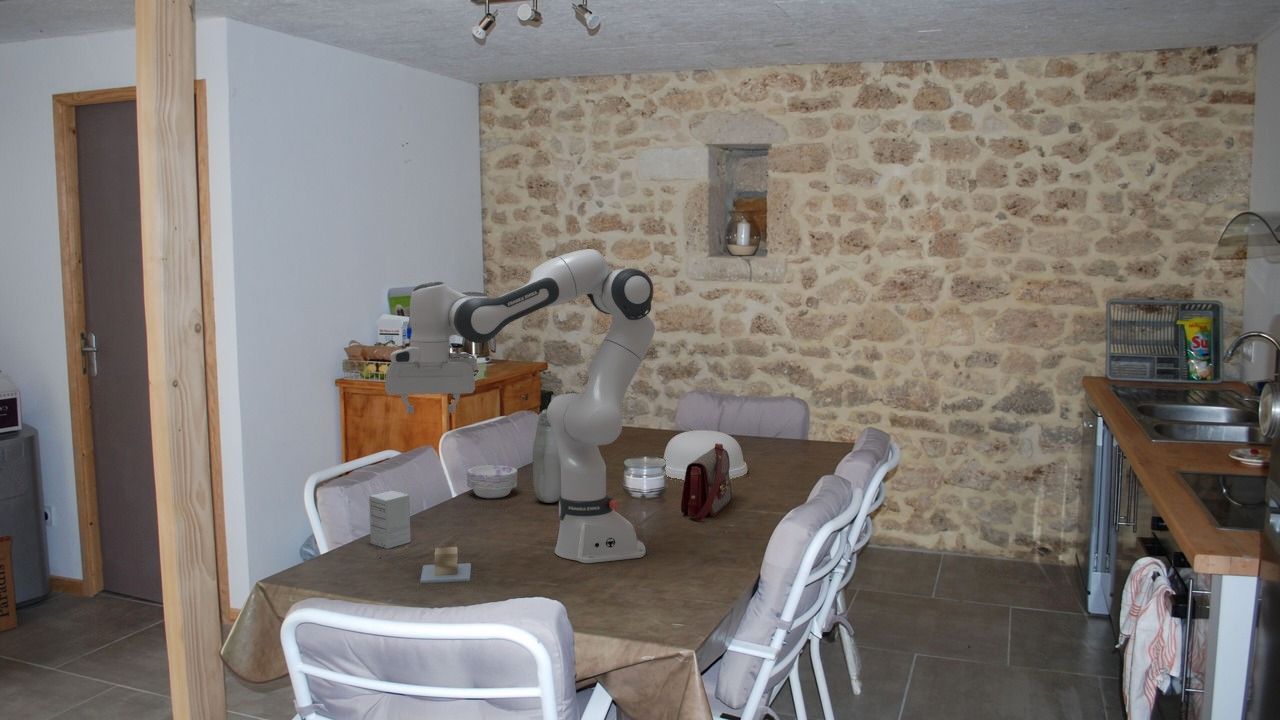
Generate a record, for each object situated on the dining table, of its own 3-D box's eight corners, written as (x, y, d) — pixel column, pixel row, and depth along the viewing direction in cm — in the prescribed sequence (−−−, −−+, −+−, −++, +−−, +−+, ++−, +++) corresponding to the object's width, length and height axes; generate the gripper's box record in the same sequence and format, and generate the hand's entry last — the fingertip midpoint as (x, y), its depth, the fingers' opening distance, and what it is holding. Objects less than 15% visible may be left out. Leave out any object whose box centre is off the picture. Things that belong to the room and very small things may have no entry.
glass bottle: (562, 507, 287) (562, 412, 284) (528, 505, 289) (528, 410, 286) (571, 498, 297) (571, 406, 294) (539, 496, 299) (538, 405, 296)
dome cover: (645, 466, 343) (646, 426, 342) (725, 461, 353) (725, 422, 351) (678, 487, 313) (678, 443, 312) (764, 481, 323) (764, 438, 321)
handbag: (711, 524, 271) (712, 462, 269) (674, 520, 274) (675, 459, 272) (737, 500, 297) (738, 443, 295) (703, 497, 300) (704, 440, 299)
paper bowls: (522, 489, 308) (522, 464, 307) (511, 501, 293) (511, 475, 292) (474, 488, 310) (474, 463, 309) (461, 500, 295) (460, 474, 294)
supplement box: (393, 537, 256) (392, 489, 255) (411, 542, 252) (410, 494, 250) (369, 543, 251) (368, 495, 249) (387, 549, 246) (386, 499, 245)
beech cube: (457, 567, 230) (457, 546, 230) (457, 574, 225) (456, 553, 225) (436, 568, 230) (435, 547, 229) (434, 575, 225) (434, 554, 224)
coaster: (470, 565, 234) (470, 563, 234) (470, 581, 223) (470, 578, 223) (423, 567, 232) (423, 565, 232) (420, 583, 221) (420, 580, 221)
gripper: (476, 351, 230) (476, 410, 232) (386, 352, 227) (387, 411, 229) (475, 354, 224) (476, 414, 226) (383, 355, 221) (384, 416, 223)
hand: (431, 413), depth 227 cm, fingers open, 8 cm apart
